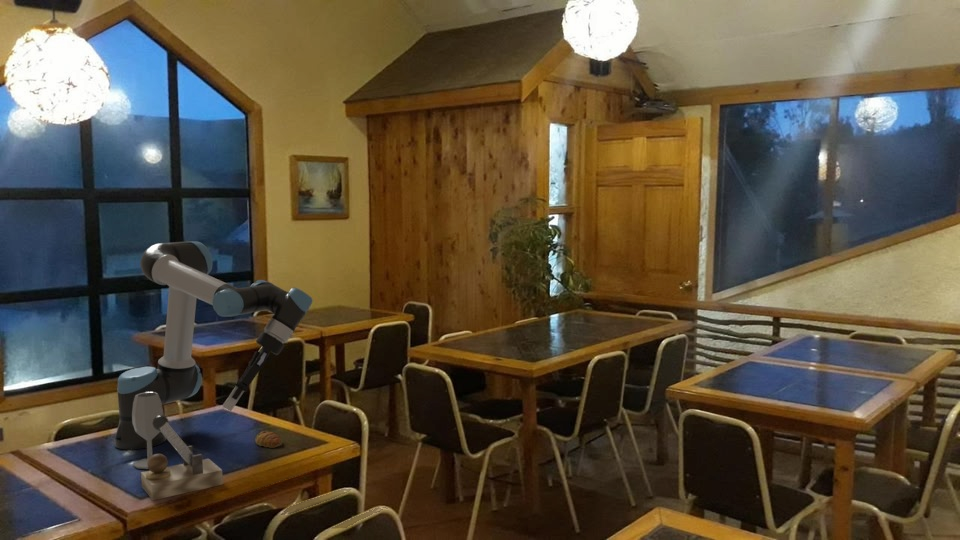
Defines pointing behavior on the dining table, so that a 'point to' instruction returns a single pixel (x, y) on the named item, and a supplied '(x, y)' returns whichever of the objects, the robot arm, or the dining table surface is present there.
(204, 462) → the nutcracker base
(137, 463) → the wineglass
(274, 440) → the pastry
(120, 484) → the dining table surface
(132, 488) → the dining table surface
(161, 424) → the lever
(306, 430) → the dining table surface
